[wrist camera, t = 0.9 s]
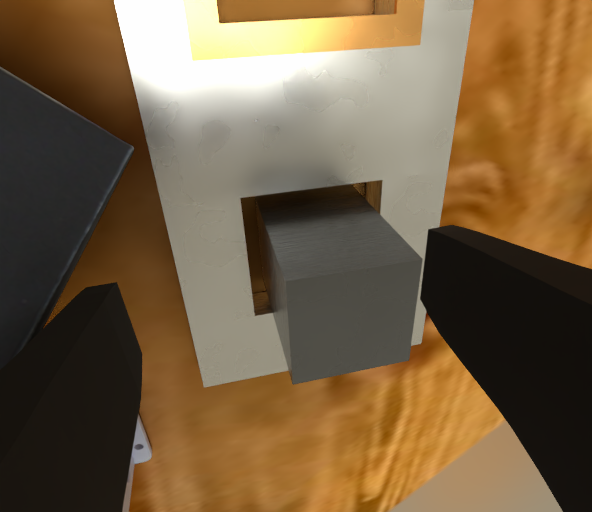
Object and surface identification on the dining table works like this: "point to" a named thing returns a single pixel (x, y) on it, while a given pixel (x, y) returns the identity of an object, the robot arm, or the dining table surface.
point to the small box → (46, 202)
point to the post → (336, 281)
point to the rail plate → (287, 139)
